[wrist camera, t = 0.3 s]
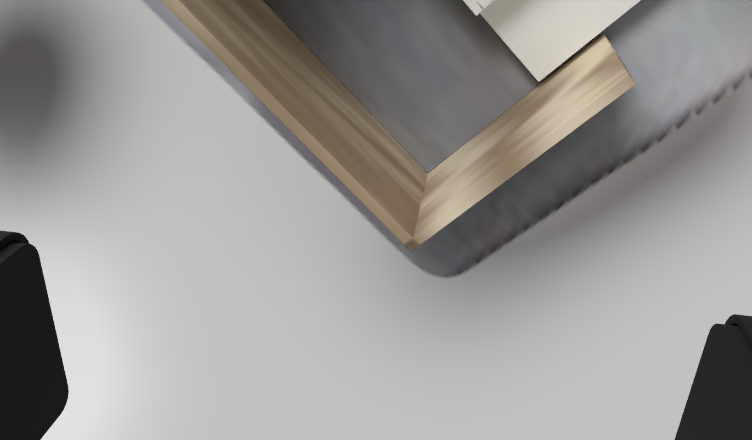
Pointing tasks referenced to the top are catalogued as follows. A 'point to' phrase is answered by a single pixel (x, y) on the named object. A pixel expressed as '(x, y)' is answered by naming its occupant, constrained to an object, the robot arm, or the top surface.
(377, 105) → the top surface
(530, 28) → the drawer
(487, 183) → the caddy
